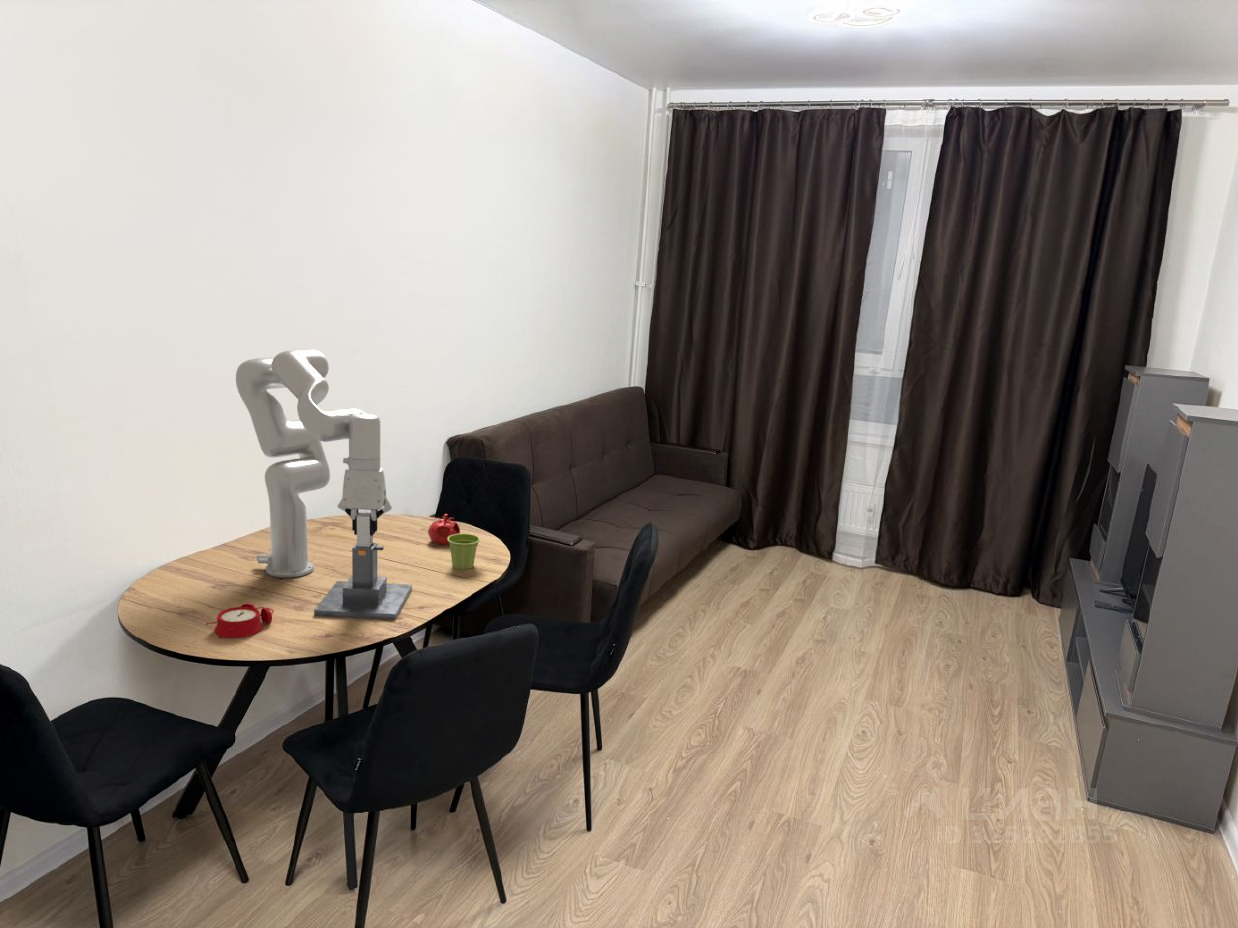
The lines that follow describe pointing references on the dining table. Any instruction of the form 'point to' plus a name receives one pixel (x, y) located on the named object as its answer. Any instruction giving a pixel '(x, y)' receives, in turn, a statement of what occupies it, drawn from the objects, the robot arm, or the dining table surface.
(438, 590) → the dining table surface
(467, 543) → the plant pot
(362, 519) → the steel post
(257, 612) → the alarm clock
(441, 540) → the pomegranate
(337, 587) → the charcoal stand
